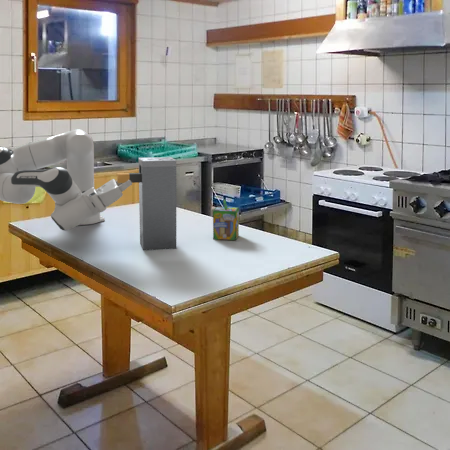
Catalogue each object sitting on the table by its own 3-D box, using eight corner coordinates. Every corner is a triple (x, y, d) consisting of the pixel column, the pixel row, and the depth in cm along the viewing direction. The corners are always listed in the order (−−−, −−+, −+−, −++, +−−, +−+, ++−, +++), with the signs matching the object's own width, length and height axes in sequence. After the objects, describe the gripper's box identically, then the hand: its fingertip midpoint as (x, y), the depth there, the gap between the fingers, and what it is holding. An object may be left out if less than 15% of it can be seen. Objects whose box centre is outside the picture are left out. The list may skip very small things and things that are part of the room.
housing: (140, 243, 217) (138, 157, 210) (171, 241, 220) (171, 157, 213) (143, 250, 207) (141, 161, 200) (176, 248, 210) (176, 160, 203)
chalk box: (235, 241, 223) (236, 203, 220) (212, 239, 224) (212, 201, 221) (239, 235, 232) (240, 198, 228) (216, 234, 233) (217, 197, 230)
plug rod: (117, 181, 206) (117, 173, 205) (167, 180, 211) (167, 172, 210) (118, 183, 203) (117, 174, 203) (169, 181, 208) (169, 173, 207)
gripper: (99, 202, 215) (131, 182, 216) (102, 213, 195) (137, 191, 197) (90, 187, 213) (122, 168, 214) (91, 197, 193) (127, 176, 195)
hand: (129, 179), depth 205 cm, fingers open, 8 cm apart
